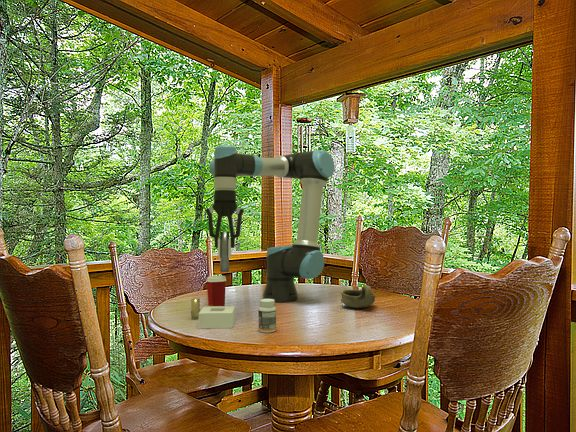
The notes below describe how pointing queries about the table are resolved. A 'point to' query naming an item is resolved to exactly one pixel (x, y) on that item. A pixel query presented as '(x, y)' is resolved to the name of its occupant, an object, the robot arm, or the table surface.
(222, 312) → the hole block
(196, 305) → the short pin
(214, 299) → the paper cup
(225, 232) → the long pin
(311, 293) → the table surface
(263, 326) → the pill bottle
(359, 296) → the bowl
